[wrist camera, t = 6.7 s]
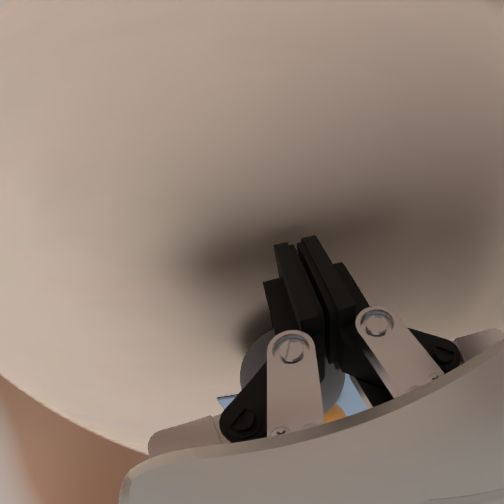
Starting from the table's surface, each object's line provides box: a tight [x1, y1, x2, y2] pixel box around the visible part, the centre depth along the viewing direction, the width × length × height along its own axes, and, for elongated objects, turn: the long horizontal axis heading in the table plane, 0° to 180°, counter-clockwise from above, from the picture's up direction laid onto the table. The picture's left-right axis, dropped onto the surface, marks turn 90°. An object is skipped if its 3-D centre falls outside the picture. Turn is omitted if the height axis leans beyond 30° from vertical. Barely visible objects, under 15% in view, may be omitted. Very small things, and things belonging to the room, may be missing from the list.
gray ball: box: [240, 329, 345, 414], centre depth 13 cm, size 6×6×6 cm
